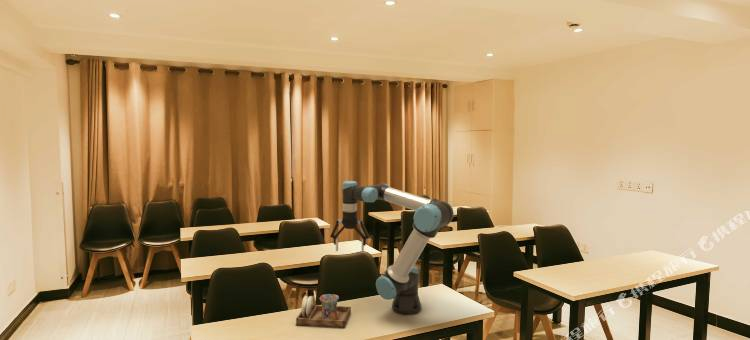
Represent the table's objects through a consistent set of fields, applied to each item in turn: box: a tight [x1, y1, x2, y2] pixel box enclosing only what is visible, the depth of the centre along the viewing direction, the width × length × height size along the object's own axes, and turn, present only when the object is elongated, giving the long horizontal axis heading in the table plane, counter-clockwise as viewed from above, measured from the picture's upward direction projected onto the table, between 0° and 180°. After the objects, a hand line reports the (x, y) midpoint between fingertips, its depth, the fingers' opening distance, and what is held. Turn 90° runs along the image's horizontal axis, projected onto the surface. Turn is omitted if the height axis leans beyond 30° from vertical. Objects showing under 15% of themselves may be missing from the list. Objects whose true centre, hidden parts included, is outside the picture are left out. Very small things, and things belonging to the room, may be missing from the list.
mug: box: [319, 293, 340, 320], centre depth 214 cm, size 12×9×11 cm
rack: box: [295, 304, 352, 329], centre depth 215 cm, size 23×17×4 cm
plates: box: [300, 295, 314, 318], centre depth 215 cm, size 3×10×10 cm, turn 173°
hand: (349, 251), depth 231 cm, fingers open, 13 cm apart
